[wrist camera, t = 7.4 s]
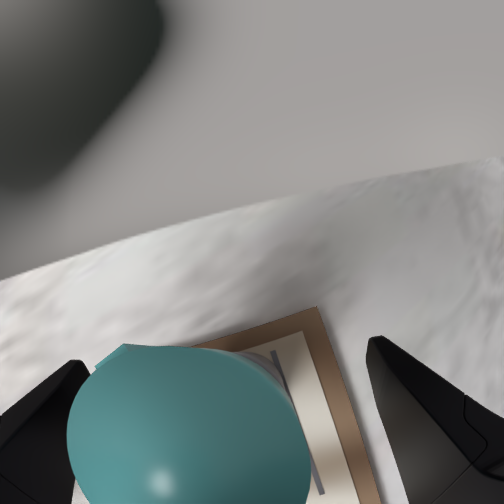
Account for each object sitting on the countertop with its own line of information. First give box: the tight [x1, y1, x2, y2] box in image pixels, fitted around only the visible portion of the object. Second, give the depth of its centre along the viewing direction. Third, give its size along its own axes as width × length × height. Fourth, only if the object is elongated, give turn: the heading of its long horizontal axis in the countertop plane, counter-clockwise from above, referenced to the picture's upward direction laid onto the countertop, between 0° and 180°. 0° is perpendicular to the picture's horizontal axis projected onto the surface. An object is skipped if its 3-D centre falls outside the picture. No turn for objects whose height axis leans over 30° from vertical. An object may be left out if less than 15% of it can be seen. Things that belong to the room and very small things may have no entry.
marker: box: [67, 344, 311, 504], centre depth 10 cm, size 4×4×12 cm
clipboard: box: [190, 306, 381, 504], centre depth 14 cm, size 16×12×1 cm
